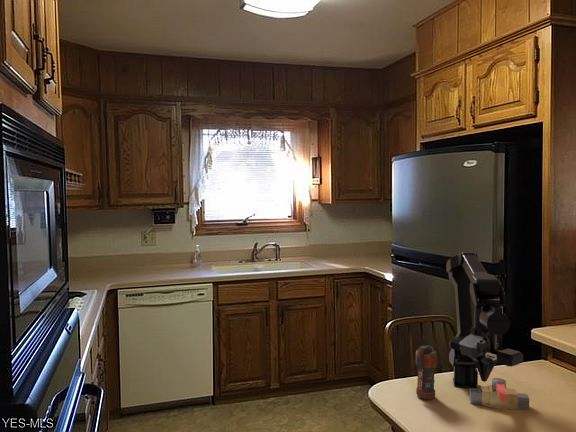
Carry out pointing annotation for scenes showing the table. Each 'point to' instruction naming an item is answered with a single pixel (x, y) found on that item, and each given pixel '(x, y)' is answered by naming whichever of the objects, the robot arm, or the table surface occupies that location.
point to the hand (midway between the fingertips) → (484, 381)
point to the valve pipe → (491, 398)
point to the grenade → (426, 372)
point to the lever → (500, 388)
